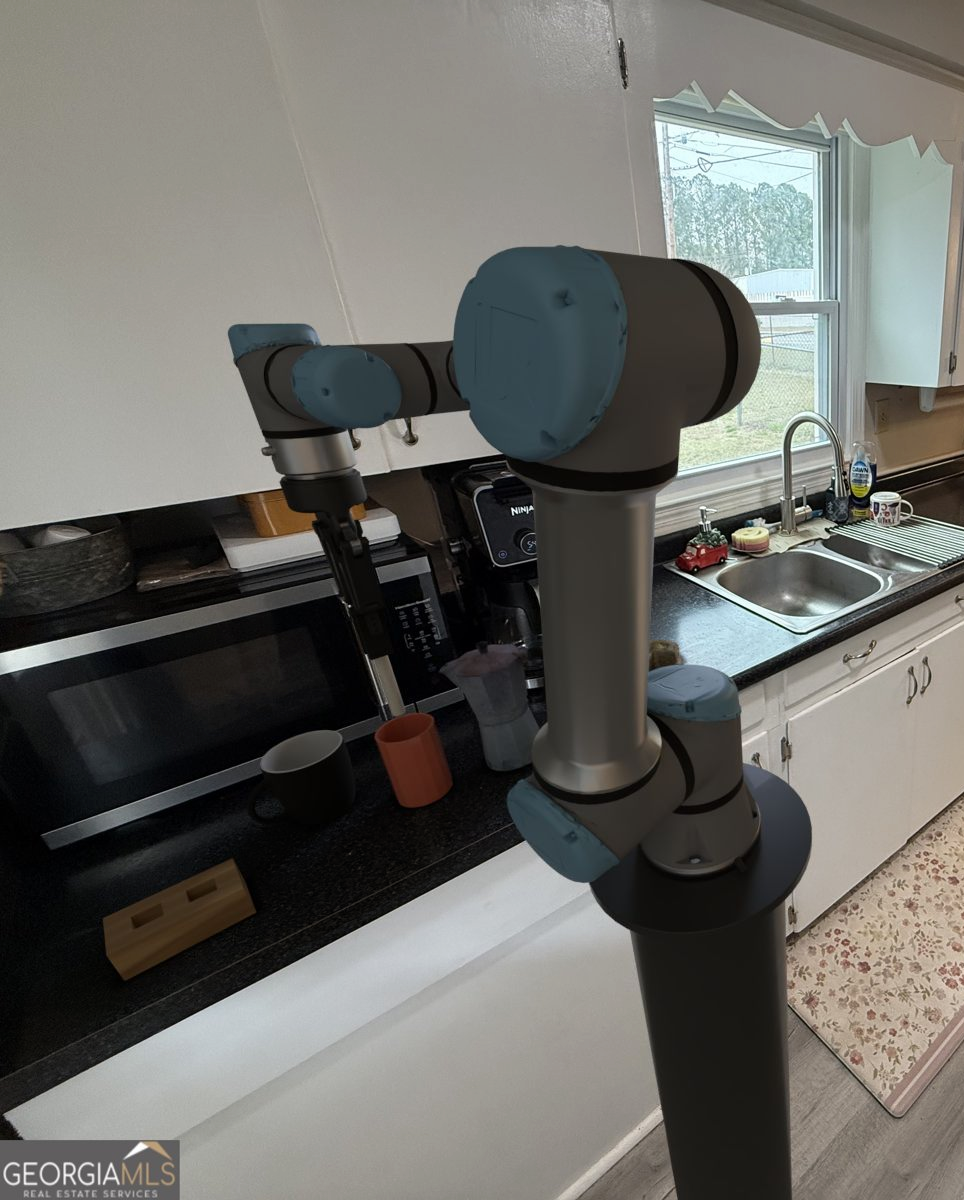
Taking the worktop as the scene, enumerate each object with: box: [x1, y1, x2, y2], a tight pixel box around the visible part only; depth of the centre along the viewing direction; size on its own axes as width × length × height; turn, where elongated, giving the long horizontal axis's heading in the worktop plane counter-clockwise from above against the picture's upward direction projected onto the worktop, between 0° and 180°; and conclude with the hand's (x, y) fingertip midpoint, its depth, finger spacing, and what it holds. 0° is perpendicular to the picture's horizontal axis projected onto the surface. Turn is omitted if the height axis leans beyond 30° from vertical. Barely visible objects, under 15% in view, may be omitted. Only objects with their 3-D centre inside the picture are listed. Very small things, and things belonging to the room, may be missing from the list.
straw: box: [373, 655, 406, 717], centre depth 80 cm, size 2×2×18 cm
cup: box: [373, 712, 453, 808], centre depth 87 cm, size 7×7×11 cm
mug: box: [246, 729, 356, 826], centre depth 83 cm, size 12×9×10 cm
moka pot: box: [438, 640, 546, 772], centre depth 93 cm, size 10×15×20 cm, turn 110°
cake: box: [649, 639, 684, 672], centre depth 121 cm, size 10×10×5 cm
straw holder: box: [102, 857, 257, 982], centre depth 68 cm, size 6×11×4 cm, turn 138°
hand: (379, 652), depth 80 cm, fingers closed on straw, 1 cm apart
